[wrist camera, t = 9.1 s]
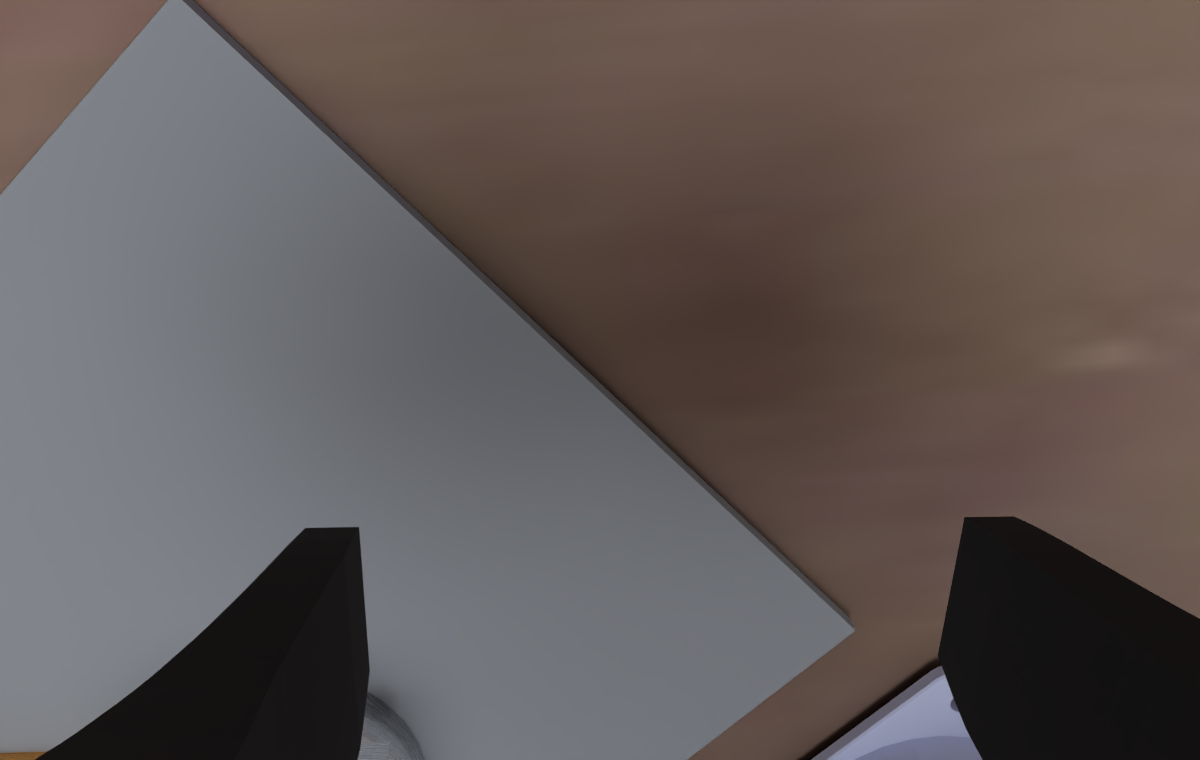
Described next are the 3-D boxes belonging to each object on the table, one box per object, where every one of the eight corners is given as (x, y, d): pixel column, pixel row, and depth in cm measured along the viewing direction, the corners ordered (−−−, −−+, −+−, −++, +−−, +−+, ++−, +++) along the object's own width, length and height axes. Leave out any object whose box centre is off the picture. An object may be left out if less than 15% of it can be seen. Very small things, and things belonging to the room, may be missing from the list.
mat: (849, 617, 24) (855, 630, 24) (240, 1086, 29) (236, 1104, 29) (183, -10, 18) (174, -8, 18) (-453, 727, 23) (-473, 744, 22)
